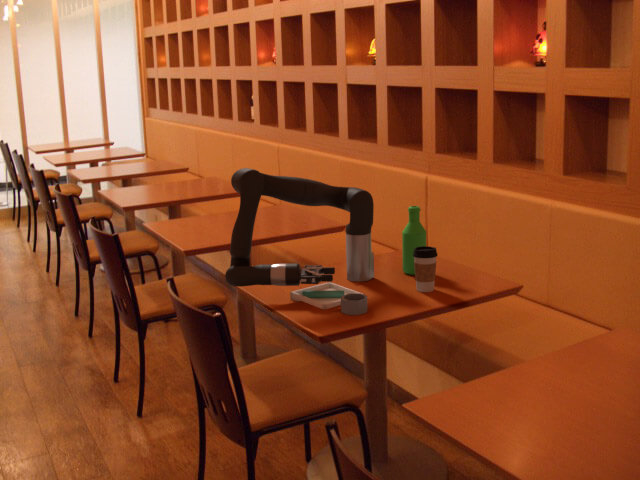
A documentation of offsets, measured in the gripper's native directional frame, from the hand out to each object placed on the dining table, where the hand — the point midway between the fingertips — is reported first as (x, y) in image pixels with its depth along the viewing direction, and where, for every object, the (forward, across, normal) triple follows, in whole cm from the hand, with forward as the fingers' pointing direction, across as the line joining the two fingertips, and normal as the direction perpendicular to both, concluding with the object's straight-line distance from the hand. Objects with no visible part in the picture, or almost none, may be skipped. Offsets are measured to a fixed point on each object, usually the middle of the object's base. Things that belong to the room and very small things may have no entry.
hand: (333, 274), depth 262 cm
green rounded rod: (+3, 0, +7) cm, 8 cm away
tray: (-2, 0, +9) cm, 9 cm away
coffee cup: (+31, +11, +9) cm, 34 cm away
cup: (+7, -14, +9) cm, 18 cm away
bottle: (+28, +32, +9) cm, 43 cm away
